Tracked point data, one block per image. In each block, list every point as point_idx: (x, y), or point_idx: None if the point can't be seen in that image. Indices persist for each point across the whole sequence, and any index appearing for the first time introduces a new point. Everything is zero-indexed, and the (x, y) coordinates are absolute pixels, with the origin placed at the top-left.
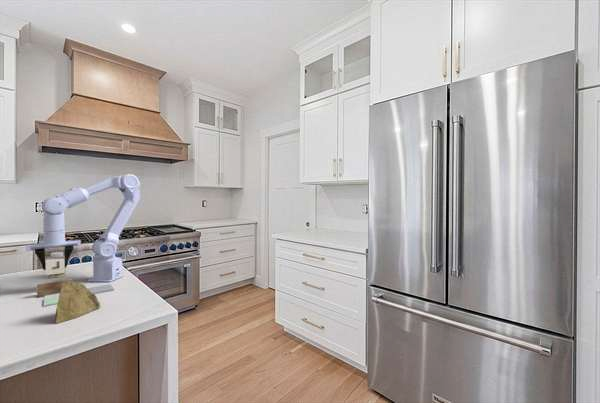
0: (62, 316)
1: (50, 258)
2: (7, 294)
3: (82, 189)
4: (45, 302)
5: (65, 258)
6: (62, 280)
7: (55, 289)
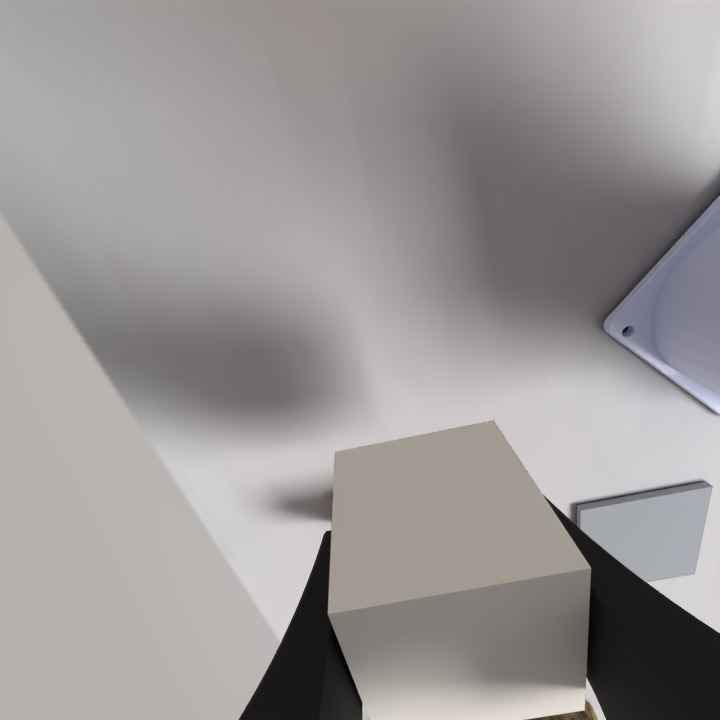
0: None
1: (400, 634)
2: (134, 402)
3: None
4: None
5: (597, 687)
6: None
7: None
